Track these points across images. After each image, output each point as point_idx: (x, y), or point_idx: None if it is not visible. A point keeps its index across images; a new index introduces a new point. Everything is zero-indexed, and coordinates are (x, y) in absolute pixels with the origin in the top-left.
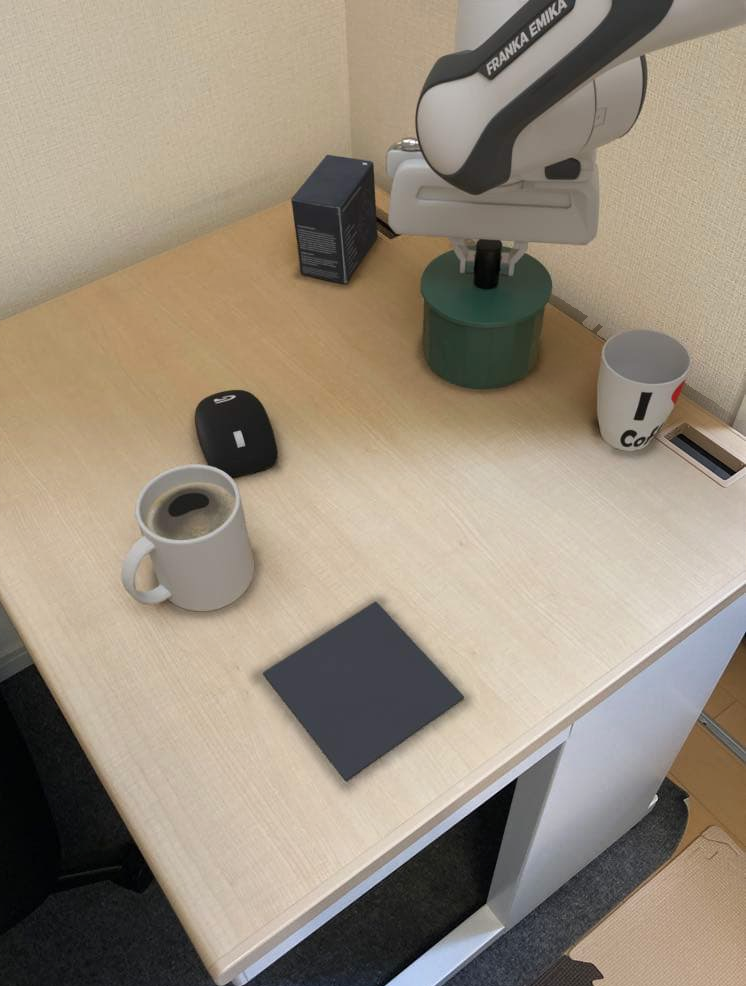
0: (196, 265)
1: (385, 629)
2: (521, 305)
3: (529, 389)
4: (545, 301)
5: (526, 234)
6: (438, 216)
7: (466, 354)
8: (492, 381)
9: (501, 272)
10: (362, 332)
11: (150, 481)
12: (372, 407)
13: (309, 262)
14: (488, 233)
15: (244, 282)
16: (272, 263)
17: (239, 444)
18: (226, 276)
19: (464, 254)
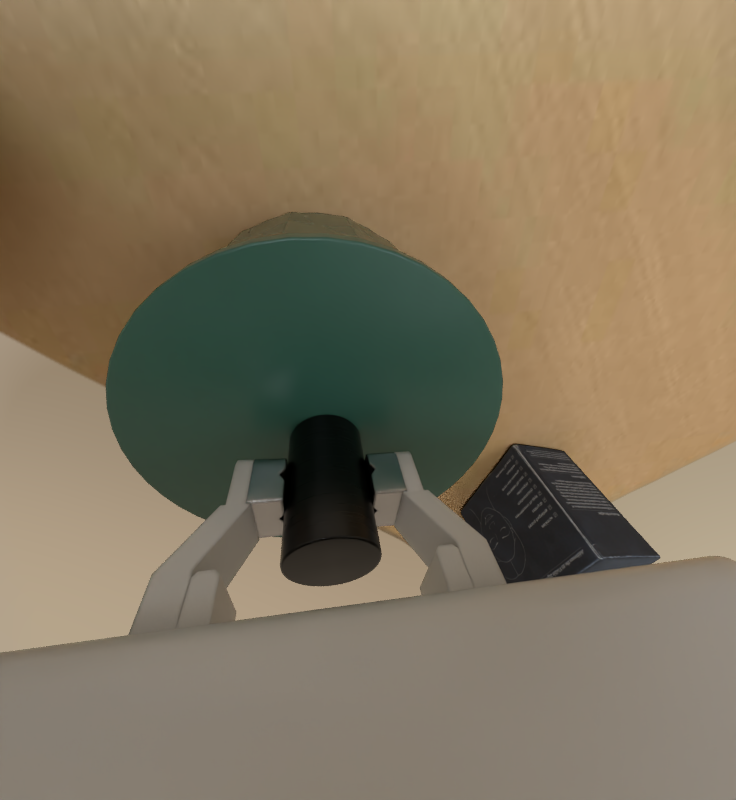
0: (675, 447)
1: None
2: (187, 357)
3: (192, 219)
4: (108, 386)
5: (88, 716)
6: (680, 731)
7: (352, 230)
8: (278, 218)
9: (277, 466)
10: (512, 358)
11: None
12: (549, 123)
13: (567, 465)
14: (349, 659)
15: (635, 430)
16: (589, 462)
17: None
18: (651, 436)
19: (416, 510)
